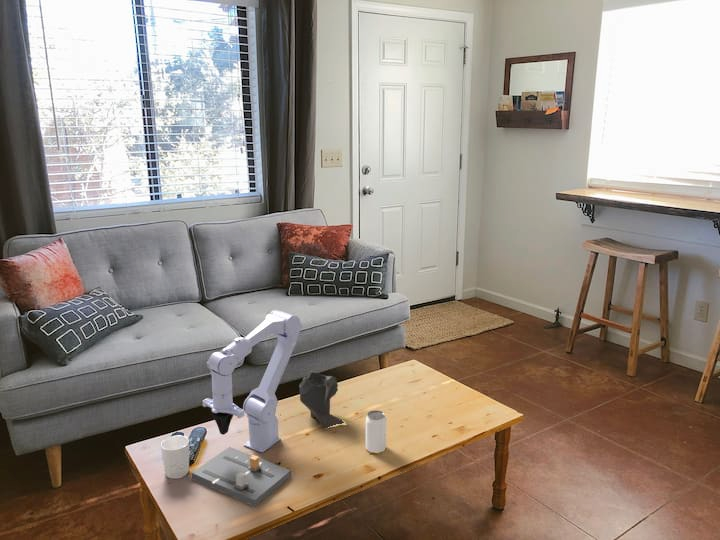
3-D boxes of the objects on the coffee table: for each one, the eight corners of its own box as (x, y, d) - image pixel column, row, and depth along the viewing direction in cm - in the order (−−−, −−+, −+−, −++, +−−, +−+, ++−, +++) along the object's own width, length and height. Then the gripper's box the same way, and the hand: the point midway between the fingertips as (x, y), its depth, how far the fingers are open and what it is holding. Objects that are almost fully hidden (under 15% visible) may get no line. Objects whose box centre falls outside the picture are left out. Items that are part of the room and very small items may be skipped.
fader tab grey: (240, 481, 167) (240, 470, 167) (248, 484, 166) (248, 473, 165) (233, 486, 165) (233, 475, 164) (242, 490, 164) (241, 479, 163)
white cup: (180, 461, 181) (178, 432, 178) (196, 471, 176) (194, 441, 173) (158, 473, 175) (155, 443, 172) (173, 483, 170) (170, 453, 167)
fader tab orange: (254, 464, 176) (253, 453, 175) (261, 467, 174) (261, 456, 173) (247, 468, 173) (247, 458, 172) (255, 471, 172) (255, 461, 171)
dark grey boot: (333, 404, 216) (332, 359, 212) (347, 424, 203) (347, 376, 198) (295, 411, 211) (294, 364, 207) (307, 432, 198) (307, 383, 193)
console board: (229, 452, 186) (229, 446, 185) (290, 476, 174) (290, 470, 173) (190, 479, 172) (190, 473, 172) (253, 507, 160) (253, 500, 160)
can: (387, 444, 191) (388, 411, 188) (383, 455, 185) (383, 421, 182) (368, 441, 192) (368, 408, 189) (363, 452, 186) (363, 418, 183)
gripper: (194, 391, 175) (196, 432, 178) (232, 403, 168) (233, 445, 172) (211, 382, 181) (213, 422, 184) (248, 393, 174) (249, 434, 177)
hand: (224, 432), depth 178 cm, fingers closed
